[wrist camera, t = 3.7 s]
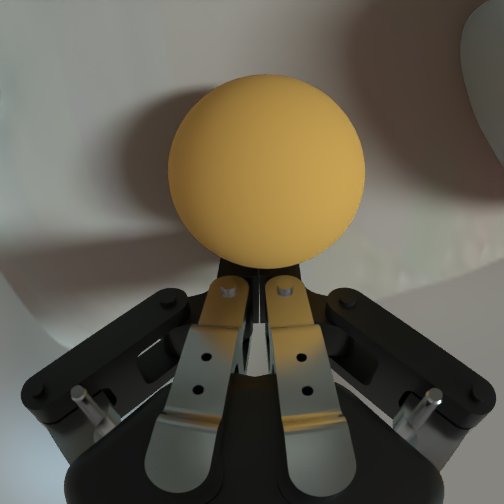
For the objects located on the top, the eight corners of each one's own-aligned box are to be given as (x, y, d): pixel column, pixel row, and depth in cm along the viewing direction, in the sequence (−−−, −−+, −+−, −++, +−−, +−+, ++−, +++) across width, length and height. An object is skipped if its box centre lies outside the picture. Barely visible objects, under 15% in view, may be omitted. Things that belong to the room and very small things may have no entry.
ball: (188, 87, 11) (127, 74, 6) (341, 85, 11) (400, 69, 6) (197, 228, 14) (156, 307, 8) (336, 227, 14) (378, 306, 8)
